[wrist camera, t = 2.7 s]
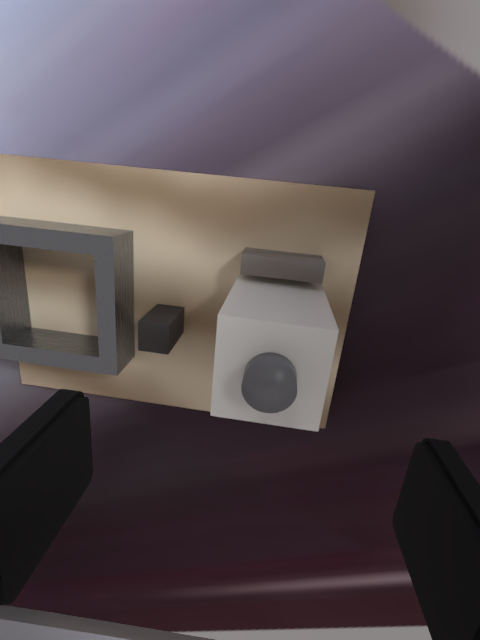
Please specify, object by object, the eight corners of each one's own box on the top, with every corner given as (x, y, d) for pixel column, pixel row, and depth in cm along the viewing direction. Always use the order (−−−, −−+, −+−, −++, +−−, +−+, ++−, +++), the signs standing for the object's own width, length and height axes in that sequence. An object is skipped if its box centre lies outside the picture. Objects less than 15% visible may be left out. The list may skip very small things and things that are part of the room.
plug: (240, 272, 20) (212, 324, 12) (321, 282, 20) (343, 342, 12) (233, 345, 21) (205, 430, 14) (308, 355, 21) (320, 448, 14)
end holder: (1, 215, 20) (-35, 219, 18) (133, 230, 20) (112, 236, 17) (18, 339, 23) (-12, 357, 21) (134, 356, 22) (117, 375, 20)
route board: (9, 155, 21) (-61, 147, 16) (368, 190, 19) (392, 191, 15) (36, 372, 26) (-13, 409, 21) (322, 414, 24) (330, 463, 20)
